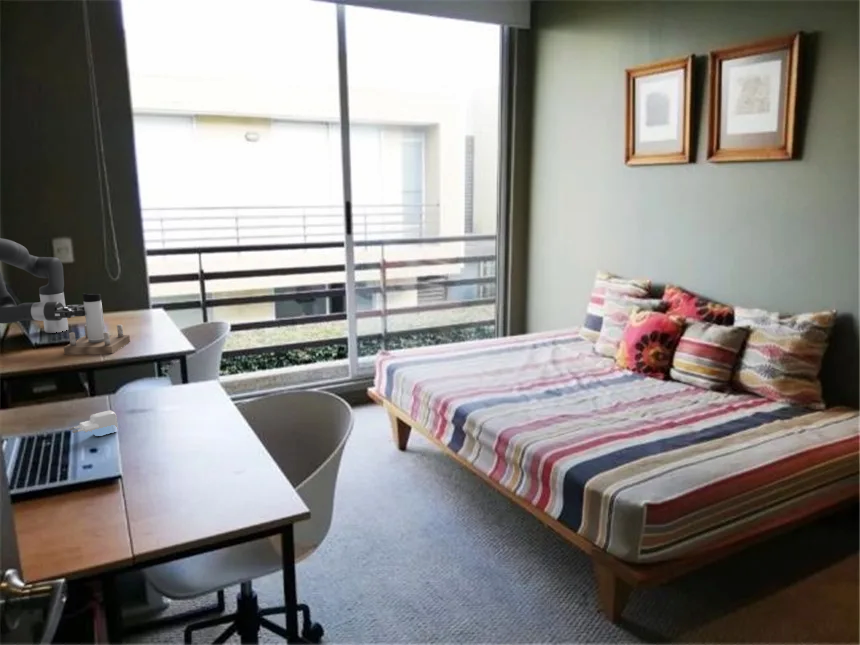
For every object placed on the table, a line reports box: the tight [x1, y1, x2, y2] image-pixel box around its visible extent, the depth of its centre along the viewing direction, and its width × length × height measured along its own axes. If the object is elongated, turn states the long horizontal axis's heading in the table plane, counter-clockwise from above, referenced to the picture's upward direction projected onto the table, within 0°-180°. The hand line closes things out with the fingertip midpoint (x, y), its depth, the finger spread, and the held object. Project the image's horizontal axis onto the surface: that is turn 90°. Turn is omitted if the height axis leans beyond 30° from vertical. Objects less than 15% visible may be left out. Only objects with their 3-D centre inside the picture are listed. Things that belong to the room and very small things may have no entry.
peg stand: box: [63, 324, 131, 356], centre depth 251 cm, size 18×18×8 cm
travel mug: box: [82, 292, 106, 343], centre depth 249 cm, size 6×7×20 cm
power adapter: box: [68, 409, 119, 434], centre depth 166 cm, size 11×5×6 cm, turn 137°
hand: (89, 310), depth 248 cm, fingers open, 8 cm apart
